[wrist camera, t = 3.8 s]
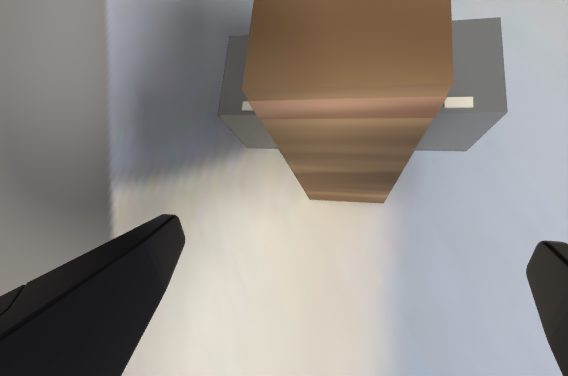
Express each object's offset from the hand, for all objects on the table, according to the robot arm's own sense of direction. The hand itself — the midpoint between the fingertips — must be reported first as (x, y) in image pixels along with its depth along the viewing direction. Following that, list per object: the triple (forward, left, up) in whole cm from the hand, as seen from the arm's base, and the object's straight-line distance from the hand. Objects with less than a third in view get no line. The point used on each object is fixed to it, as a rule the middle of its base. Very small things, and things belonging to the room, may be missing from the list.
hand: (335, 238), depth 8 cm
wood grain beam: (+4, +3, -11) cm, 12 cm away
